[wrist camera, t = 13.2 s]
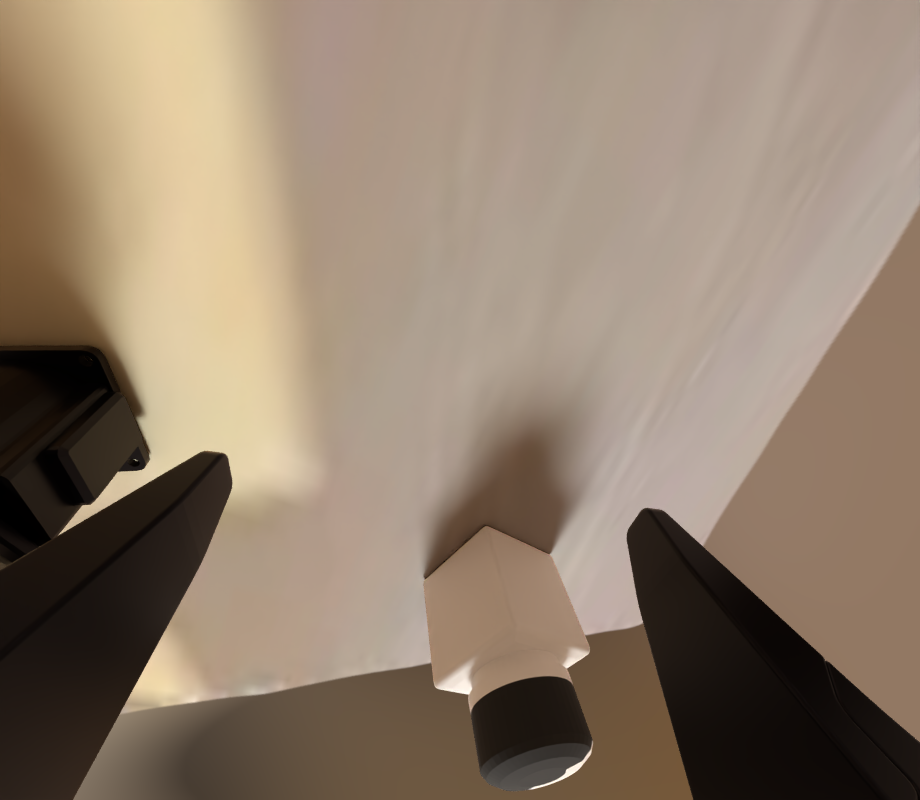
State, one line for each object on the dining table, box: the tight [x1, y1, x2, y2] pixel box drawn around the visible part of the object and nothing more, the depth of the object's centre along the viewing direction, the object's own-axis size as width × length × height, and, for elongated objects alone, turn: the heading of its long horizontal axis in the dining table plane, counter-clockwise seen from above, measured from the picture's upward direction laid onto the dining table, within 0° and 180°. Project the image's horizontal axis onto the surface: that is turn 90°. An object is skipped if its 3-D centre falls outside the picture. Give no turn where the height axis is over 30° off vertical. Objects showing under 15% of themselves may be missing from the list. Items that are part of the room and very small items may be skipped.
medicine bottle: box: [424, 526, 593, 791], centre depth 25 cm, size 7×7×12 cm
